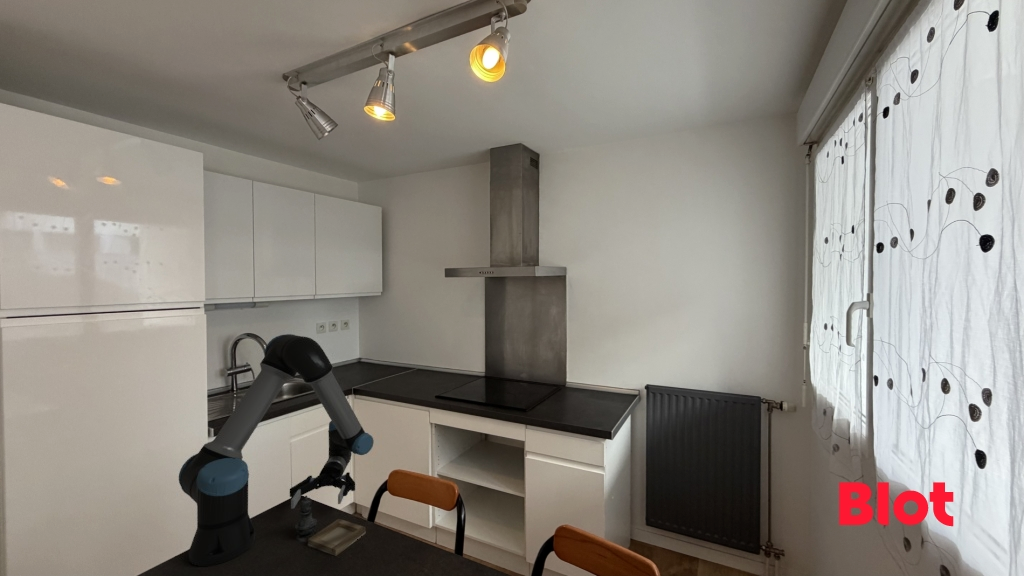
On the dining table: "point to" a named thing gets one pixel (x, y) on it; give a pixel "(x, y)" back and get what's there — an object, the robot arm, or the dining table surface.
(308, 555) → the dining table surface
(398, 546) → the dining table surface
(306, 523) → the dark grey tall figure
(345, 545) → the square wooden tray
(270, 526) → the dining table surface
